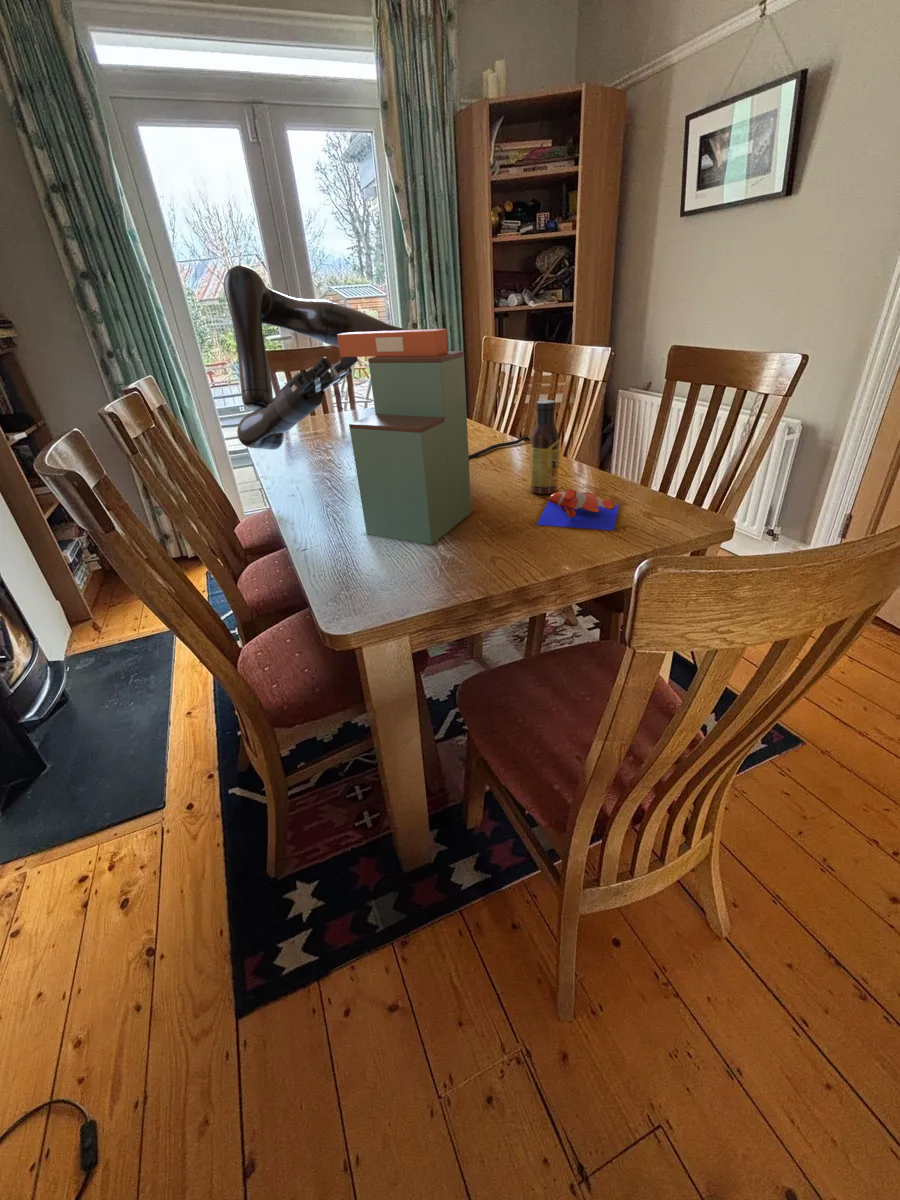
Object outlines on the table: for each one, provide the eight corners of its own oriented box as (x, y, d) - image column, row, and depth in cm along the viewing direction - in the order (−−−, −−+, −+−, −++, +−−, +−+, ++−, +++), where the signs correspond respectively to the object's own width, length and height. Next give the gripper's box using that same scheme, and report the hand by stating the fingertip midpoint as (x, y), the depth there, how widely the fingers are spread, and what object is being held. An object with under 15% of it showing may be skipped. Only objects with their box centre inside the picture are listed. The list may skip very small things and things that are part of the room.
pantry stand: (366, 534, 109) (339, 365, 92) (411, 504, 122) (394, 352, 105) (431, 545, 102) (415, 364, 85) (471, 512, 115) (463, 351, 98)
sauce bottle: (557, 495, 120) (560, 404, 110) (529, 495, 121) (530, 405, 111) (557, 486, 126) (561, 398, 115) (531, 486, 127) (532, 399, 117)
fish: (547, 495, 106) (554, 481, 112) (546, 517, 108) (553, 502, 115) (614, 498, 102) (617, 484, 108) (612, 521, 104) (615, 506, 111)
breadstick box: (340, 357, 104) (336, 334, 102) (352, 354, 107) (349, 332, 105) (437, 355, 94) (435, 330, 92) (448, 352, 97) (446, 328, 95)
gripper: (264, 389, 110) (307, 345, 100) (310, 377, 121) (353, 336, 111) (285, 422, 112) (329, 381, 102) (328, 407, 123) (372, 370, 112)
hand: (341, 358), depth 106 cm, fingers open, 8 cm apart
